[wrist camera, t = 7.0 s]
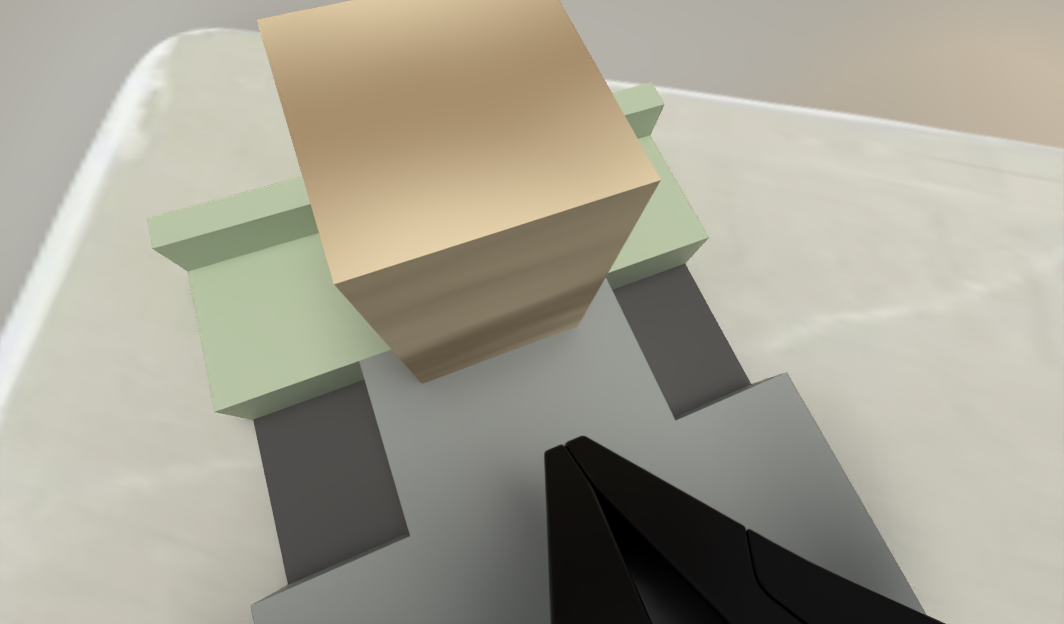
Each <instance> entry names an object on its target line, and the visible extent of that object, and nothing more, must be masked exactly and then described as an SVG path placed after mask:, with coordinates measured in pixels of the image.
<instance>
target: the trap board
mask: <svg viewBox="0 0 1064 624" xmlns="http://www.w3.org/2000/svg"><path fill="white" fill-rule="evenodd" d="M612 94H613V96H614V98H615V99H616V101H617V103H618V105H619V106H620V108H621V110H622V112H623V113H624V115H625V117H626V119H627V121H628V122H629V124H630V126H631V128H632V129H633V131H634V133H635V135H636V136H637V138H638V140H639V142H640V143H641V145H642V147H643V149H644V151H645V152H646V154H647V156H648V158H649V159H650V161H651V163H652V165H653V166H654V168H655V170H656V172H657V173H658V175H659V177H660V179H661V181H660V183H659V184H658V186H657V188H656V190H655V191H654V193H653V195H652V197H651V198H650V200H649V202H648V204H647V206H646V207H645V209H644V211H643V213H642V214H641V216H640V218H639V220H638V221H637V223H636V225H635V227H634V228H633V230H632V232H631V234H630V235H629V237H628V239H627V241H626V242H625V244H624V246H623V248H622V250H621V251H620V253H619V255H618V257H617V258H616V260H615V262H614V264H613V265H612V267H611V269H610V271H609V272H608V274H607V276H606V278H605V279H604V281H603V283H602V285H601V286H600V288H599V290H598V292H597V294H596V295H595V297H594V299H593V301H592V302H591V304H590V306H589V308H588V309H587V311H586V313H585V315H584V316H583V318H582V320H581V322H580V323H579V325H578V326H576V327H573V328H570V329H568V330H565V331H562V332H560V333H557V334H554V335H552V336H549V337H546V338H544V339H541V340H538V341H536V342H533V343H530V344H528V345H525V346H522V347H520V348H517V349H514V350H512V351H509V352H506V353H504V354H501V355H498V356H496V357H493V358H490V359H488V360H485V361H482V362H480V363H477V364H474V365H471V366H469V367H466V368H463V369H461V370H458V371H455V372H453V373H450V374H447V375H445V376H442V377H439V378H437V379H434V380H431V381H429V382H426V383H423V384H422V383H421V382H420V381H419V380H418V379H417V377H416V376H415V375H414V374H413V373H412V372H411V371H410V370H409V368H408V367H407V366H406V365H405V364H404V363H403V362H402V361H401V359H400V358H399V357H398V356H397V355H396V354H395V353H394V351H393V350H392V349H391V348H390V347H389V346H388V345H387V344H386V342H385V341H384V340H383V339H382V338H381V337H380V336H379V335H378V333H377V332H376V331H375V330H374V329H373V328H372V327H371V326H370V324H369V323H368V322H367V321H366V320H365V319H364V318H363V317H362V315H361V314H360V313H359V312H358V311H357V310H356V309H355V308H354V306H353V305H352V304H351V303H350V302H349V301H348V300H347V298H346V297H345V296H344V295H343V294H342V293H341V292H340V291H339V289H338V288H337V287H336V286H335V285H334V283H333V279H332V276H331V273H330V269H329V266H328V262H327V259H326V255H325V252H324V249H323V245H322V242H321V238H320V235H319V231H318V228H317V224H316V221H315V218H314V214H313V211H312V207H311V204H310V200H309V197H308V194H307V190H306V187H305V183H304V180H303V176H302V177H298V178H294V179H291V180H287V181H283V182H280V183H276V184H272V185H268V186H265V187H261V188H257V189H254V190H250V191H246V192H243V193H239V194H235V195H231V196H228V197H224V198H220V199H217V200H213V201H209V202H205V203H202V204H198V205H194V206H191V207H187V208H183V209H180V210H176V211H172V212H168V213H165V214H161V215H157V216H154V217H150V218H147V219H148V225H149V231H150V237H151V243H152V249H154V250H155V251H157V252H158V253H160V254H162V255H163V256H165V257H166V258H168V259H169V260H171V261H173V262H174V263H176V264H177V265H179V266H180V267H182V268H184V269H185V270H187V271H188V274H189V279H190V284H191V290H192V295H193V301H194V306H195V311H196V317H197V322H198V327H199V333H200V338H201V343H202V349H203V354H204V359H205V365H206V370H207V375H208V381H209V386H210V391H211V397H212V402H213V407H214V412H217V413H222V414H227V415H232V416H237V417H242V418H247V419H252V420H253V421H254V426H255V430H256V435H257V440H258V444H259V449H260V454H261V459H262V463H263V468H264V473H265V478H266V482H267V487H268V492H269V497H270V501H271V506H272V511H273V515H274V520H275V525H276V530H277V534H278V539H279V544H280V549H281V553H282V558H283V563H284V567H285V572H286V577H287V582H288V585H287V586H285V587H283V588H281V589H280V590H278V591H276V592H274V593H272V594H271V595H269V596H267V597H265V598H263V599H262V600H260V601H258V602H256V603H254V604H253V605H251V611H252V616H253V621H254V624H550V598H549V573H548V547H547V522H546V496H545V471H544V452H545V451H546V450H548V449H551V448H553V447H555V446H558V445H560V444H563V445H564V446H565V443H566V442H567V441H569V440H572V439H574V438H576V437H579V436H582V435H583V436H586V437H588V438H590V439H592V440H594V441H595V442H597V443H599V444H601V445H602V446H604V447H606V448H608V449H610V450H611V451H613V452H615V453H617V454H618V455H620V456H622V457H624V458H626V459H627V460H629V461H631V462H633V463H634V464H636V465H638V466H640V467H642V468H643V469H645V470H647V471H649V472H650V473H652V474H654V475H656V476H657V477H659V478H661V479H663V480H665V481H666V482H668V483H670V484H672V485H673V486H675V487H677V488H679V489H681V490H682V491H684V492H686V493H688V494H689V495H691V496H693V497H695V498H696V499H698V500H700V501H702V502H704V503H705V504H707V505H709V506H711V507H712V508H714V509H716V510H718V511H720V512H721V513H723V514H725V515H727V516H728V517H730V518H732V519H734V520H736V521H737V522H739V523H741V524H743V525H744V526H745V527H746V531H747V529H752V530H754V531H755V532H757V533H759V534H761V535H762V536H764V537H766V538H768V539H769V540H771V541H773V542H775V543H777V544H779V545H781V546H782V547H784V548H786V549H788V550H790V551H792V552H794V553H796V554H797V555H799V556H801V557H803V558H805V559H807V560H809V561H811V562H813V563H815V564H817V565H819V566H821V567H823V568H825V569H828V570H830V571H832V572H834V573H836V574H838V575H840V576H842V577H844V578H846V579H849V580H851V581H853V582H855V583H857V584H859V585H862V586H864V587H866V588H868V589H870V590H873V591H875V592H877V593H879V594H881V595H884V596H886V597H888V598H890V599H892V600H895V601H897V602H899V603H901V604H904V605H906V606H908V607H910V608H912V609H915V610H917V611H919V612H921V613H923V614H926V613H925V611H924V609H923V608H922V606H921V604H920V602H919V601H918V599H917V597H916V596H915V594H914V592H913V590H912V589H911V587H910V585H909V583H908V582H907V580H906V578H905V576H904V575H903V573H902V571H901V569H900V568H899V566H898V564H897V563H896V561H895V559H894V557H893V556H892V554H891V552H890V550H889V549H888V547H887V545H886V543H885V542H884V540H883V538H882V536H881V535H880V533H879V531H878V530H877V528H876V526H875V524H874V523H873V521H872V519H871V517H870V516H869V514H868V512H867V510H866V509H865V507H864V505H863V503H862V502H861V500H860V498H859V497H858V495H857V493H856V491H855V490H854V488H853V486H852V484H851V483H850V481H849V479H848V477H847V476H846V474H845V472H844V470H843V469H842V467H841V465H840V464H839V462H838V460H837V458H836V457H835V455H834V453H833V451H832V450H831V448H830V446H829V444H828V443H827V441H826V439H825V437H824V436H823V434H822V432H821V431H820V429H819V427H818V425H817V424H816V422H815V420H814V418H813V417H812V415H811V413H810V411H809V410H808V408H807V406H806V404H805V403H804V401H803V399H802V398H801V396H800V394H799V392H798V391H797V389H796V387H795V385H794V384H793V382H792V380H791V378H790V377H789V375H788V373H787V372H786V373H783V374H780V375H777V376H774V377H771V378H768V379H765V380H762V381H759V382H756V383H753V384H751V383H750V381H749V380H748V378H747V376H746V374H745V372H744V370H743V369H742V367H741V365H740V363H739V361H738V359H737V358H736V356H735V354H734V352H733V350H732V348H731V347H730V345H729V343H728V341H727V339H726V337H725V336H724V334H723V332H722V330H721V328H720V327H719V325H718V323H717V321H716V319H715V317H714V316H713V314H712V312H711V310H710V308H709V306H708V305H707V303H706V301H705V299H704V297H703V295H702V294H701V292H700V290H699V288H698V286H697V285H696V283H695V281H694V279H693V277H692V275H691V274H690V272H689V270H688V268H687V266H686V264H685V263H686V262H687V261H688V260H689V259H690V258H691V257H692V255H693V254H694V253H695V252H696V251H697V250H698V249H699V248H700V247H701V246H702V245H703V243H704V242H705V241H706V240H707V239H708V238H709V236H708V234H707V233H706V231H705V229H704V227H703V226H702V224H701V222H700V220H699V219H698V217H697V215H696V213H695V212H694V210H693V208H692V206H691V205H690V203H689V201H688V200H687V198H686V196H685V194H684V193H683V191H682V189H681V187H680V186H679V184H678V182H677V180H676V179H675V177H674V175H673V173H672V172H671V170H670V168H669V167H668V165H667V163H666V161H665V160H664V158H663V156H662V154H661V153H660V151H659V149H658V147H657V146H656V144H655V142H654V140H653V139H652V137H651V133H652V130H653V128H654V126H655V124H656V122H657V120H658V117H659V115H660V113H661V111H662V109H663V107H664V102H663V101H662V99H661V97H660V96H659V94H658V92H657V91H656V89H655V87H654V86H653V84H652V82H650V83H646V84H643V85H639V86H635V87H632V88H628V89H624V90H620V91H617V92H613V93H612Z"/></svg>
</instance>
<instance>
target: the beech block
mask: <svg viewBox="0 0 1064 624" xmlns="http://www.w3.org/2000/svg"><path fill="white" fill-rule="evenodd" d="M257 22H258V25H259V28H260V32H261V36H262V39H263V42H264V46H265V49H266V53H267V56H268V60H269V63H270V66H271V70H272V73H273V77H274V80H275V84H276V87H277V91H278V94H279V97H280V101H281V104H282V108H283V111H284V115H285V118H286V121H287V125H288V128H289V132H290V135H291V139H292V142H293V145H294V149H295V152H296V156H297V159H298V163H299V166H300V170H301V173H302V176H303V180H304V183H305V187H306V190H307V194H308V197H309V200H310V204H311V207H312V211H313V214H314V218H315V221H316V224H317V228H318V231H319V235H320V238H321V242H322V245H323V249H324V252H325V255H326V259H327V262H328V266H329V269H330V273H331V276H332V279H333V283H334V285H335V286H336V287H337V288H338V289H339V291H340V292H341V293H342V294H343V295H344V296H345V297H346V298H347V300H348V301H349V302H350V303H351V304H352V305H353V306H354V308H355V309H356V310H357V311H358V312H359V313H360V314H361V315H362V317H363V318H364V319H365V320H366V321H367V322H368V323H369V324H370V326H371V327H372V328H373V329H374V330H375V331H376V332H377V333H378V335H379V336H380V337H381V338H382V339H383V340H384V341H385V342H386V344H387V345H388V346H389V347H390V348H391V349H392V350H393V351H394V353H395V354H396V355H397V356H398V357H399V358H400V359H401V361H402V362H403V363H404V364H405V365H406V366H407V367H408V368H409V370H410V371H411V372H412V373H413V374H414V375H415V376H416V377H417V379H418V380H419V381H420V382H421V383H422V384H423V383H426V382H429V381H431V380H434V379H437V378H439V377H442V376H445V375H447V374H450V373H453V372H455V371H458V370H461V369H463V368H466V367H469V366H471V365H474V364H477V363H480V362H482V361H485V360H488V359H490V358H493V357H496V356H498V355H501V354H504V353H506V352H509V351H512V350H514V349H517V348H520V347H522V346H525V345H528V344H530V343H533V342H536V341H538V340H541V339H544V338H546V337H549V336H552V335H554V334H557V333H560V332H562V331H565V330H568V329H570V328H573V327H576V326H578V325H579V323H580V322H581V320H582V318H583V316H584V315H585V313H586V311H587V309H588V308H589V306H590V304H591V302H592V301H593V299H594V297H595V295H596V294H597V292H598V290H599V288H600V286H601V285H602V283H603V281H604V279H605V278H606V276H607V274H608V272H609V271H610V269H611V267H612V265H613V264H614V262H615V260H616V258H617V257H618V255H619V253H620V251H621V250H622V248H623V246H624V244H625V242H626V241H627V239H628V237H629V235H630V234H631V232H632V230H633V228H634V227H635V225H636V223H637V221H638V220H639V218H640V216H641V214H642V213H643V211H644V209H645V207H646V206H647V204H648V202H649V200H650V198H651V197H652V195H653V193H654V191H655V190H656V188H657V186H658V184H659V183H660V181H661V179H660V177H659V175H658V173H657V172H656V170H655V168H654V166H653V165H652V163H651V161H650V159H649V158H648V156H647V154H646V152H645V151H644V149H643V147H642V145H641V143H640V142H639V140H638V138H637V136H636V135H635V133H634V131H633V129H632V128H631V126H630V124H629V122H628V121H627V119H626V117H625V115H624V113H623V112H622V110H621V108H620V106H619V105H618V103H617V101H616V99H615V98H614V96H613V94H612V92H611V90H610V89H609V87H608V85H607V83H606V82H605V80H604V78H603V76H602V75H601V73H600V71H599V69H598V68H597V66H596V64H595V62H594V60H593V59H592V57H591V55H590V53H589V52H588V50H587V48H586V46H585V45H584V43H583V41H582V40H581V38H580V36H579V34H578V32H577V30H576V29H575V27H574V25H573V23H572V22H571V20H570V18H569V16H568V15H567V13H566V11H565V9H564V7H563V6H562V4H561V2H560V0H352V1H347V2H342V3H337V4H332V5H327V6H322V7H317V8H313V9H307V10H303V11H298V12H293V13H288V14H283V15H278V16H273V17H268V18H263V19H258V20H257Z"/></svg>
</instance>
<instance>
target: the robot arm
mask: <svg viewBox="0 0 1064 624" xmlns="http://www.w3.org/2000/svg"><path fill="white" fill-rule="evenodd" d="M544 471H545V496H546V522H547V547H548V573H549V598H550V624H945V623H943V622H941V621H939V620H937V619H934V618H932V617H930V616H928V615H926V614H923V613H921V612H919V611H917V610H915V609H912V608H910V607H908V606H906V605H904V604H901V603H899V602H897V601H895V600H892V599H890V598H888V597H886V596H884V595H881V594H879V593H877V592H875V591H873V590H870V589H868V588H866V587H864V586H862V585H859V584H857V583H855V582H853V581H851V580H849V579H846V578H844V577H842V576H840V575H838V574H836V573H834V572H832V571H830V570H828V569H825V568H823V567H821V566H819V565H817V564H815V563H813V562H811V561H809V560H807V559H805V558H803V557H801V556H799V555H797V554H796V553H794V552H792V551H790V550H788V549H786V548H784V547H782V546H781V545H779V544H777V543H775V542H773V541H771V540H769V539H768V538H766V537H764V536H762V535H761V534H759V533H757V532H755V531H754V530H752V529H747V531H746V527H745V526H744V525H743V524H741V523H739V522H737V521H736V520H734V519H732V518H730V517H728V516H727V515H725V514H723V513H721V512H720V511H718V510H716V509H714V508H712V507H711V506H709V505H707V504H705V503H704V502H702V501H700V500H698V499H696V498H695V497H693V496H691V495H689V494H688V493H686V492H684V491H682V490H681V489H679V488H677V487H675V486H673V485H672V484H670V483H668V482H666V481H665V480H663V479H661V478H659V477H657V476H656V475H654V474H652V473H650V472H649V471H647V470H645V469H643V468H642V467H640V466H638V465H636V464H634V463H633V462H631V461H629V460H627V459H626V458H624V457H622V456H620V455H618V454H617V453H615V452H613V451H611V450H610V449H608V448H606V447H604V446H602V445H601V444H599V443H597V442H595V441H594V440H592V439H590V438H588V437H586V436H583V435H582V436H579V437H576V438H574V439H572V440H569V441H567V442H566V443H565V446H564V445H563V444H560V445H558V446H555V447H553V448H551V449H548V450H546V451H545V452H544Z"/></svg>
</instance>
